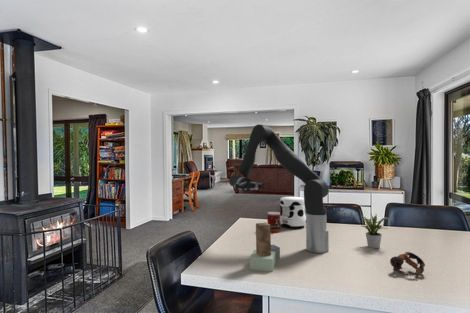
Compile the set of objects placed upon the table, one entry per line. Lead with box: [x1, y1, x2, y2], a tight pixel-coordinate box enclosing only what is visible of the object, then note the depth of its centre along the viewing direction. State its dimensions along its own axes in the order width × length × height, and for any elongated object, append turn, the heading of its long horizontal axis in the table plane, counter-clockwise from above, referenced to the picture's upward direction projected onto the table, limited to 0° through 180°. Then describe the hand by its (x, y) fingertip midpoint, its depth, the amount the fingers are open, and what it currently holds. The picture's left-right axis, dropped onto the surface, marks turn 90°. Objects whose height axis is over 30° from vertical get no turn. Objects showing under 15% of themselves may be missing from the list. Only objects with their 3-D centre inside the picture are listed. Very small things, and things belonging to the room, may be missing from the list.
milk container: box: [279, 196, 306, 229], centre depth 181 cm, size 17×17×18 cm
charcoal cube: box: [271, 244, 281, 261], centre depth 122 cm, size 5×5×5 cm
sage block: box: [249, 249, 276, 272], centre depth 113 cm, size 9×9×5 cm
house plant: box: [360, 213, 388, 249], centre depth 136 cm, size 14×14×16 cm
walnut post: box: [255, 222, 272, 256], centre depth 114 cm, size 4×4×12 cm
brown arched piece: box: [389, 251, 426, 277], centre depth 106 cm, size 12×10×8 cm
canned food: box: [266, 211, 281, 234], centre depth 168 cm, size 8×8×11 cm
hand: (252, 187), depth 130 cm, fingers open, 8 cm apart
